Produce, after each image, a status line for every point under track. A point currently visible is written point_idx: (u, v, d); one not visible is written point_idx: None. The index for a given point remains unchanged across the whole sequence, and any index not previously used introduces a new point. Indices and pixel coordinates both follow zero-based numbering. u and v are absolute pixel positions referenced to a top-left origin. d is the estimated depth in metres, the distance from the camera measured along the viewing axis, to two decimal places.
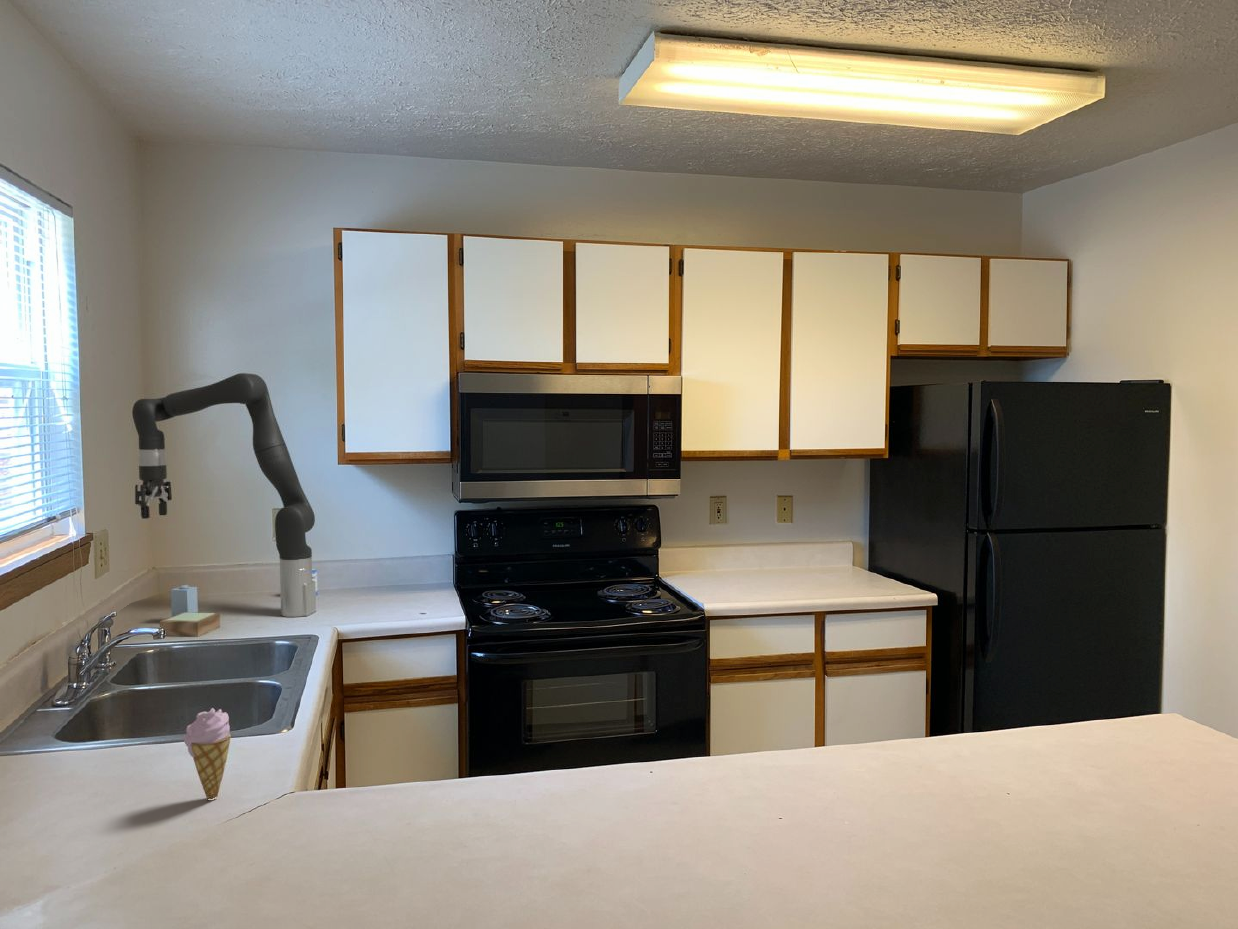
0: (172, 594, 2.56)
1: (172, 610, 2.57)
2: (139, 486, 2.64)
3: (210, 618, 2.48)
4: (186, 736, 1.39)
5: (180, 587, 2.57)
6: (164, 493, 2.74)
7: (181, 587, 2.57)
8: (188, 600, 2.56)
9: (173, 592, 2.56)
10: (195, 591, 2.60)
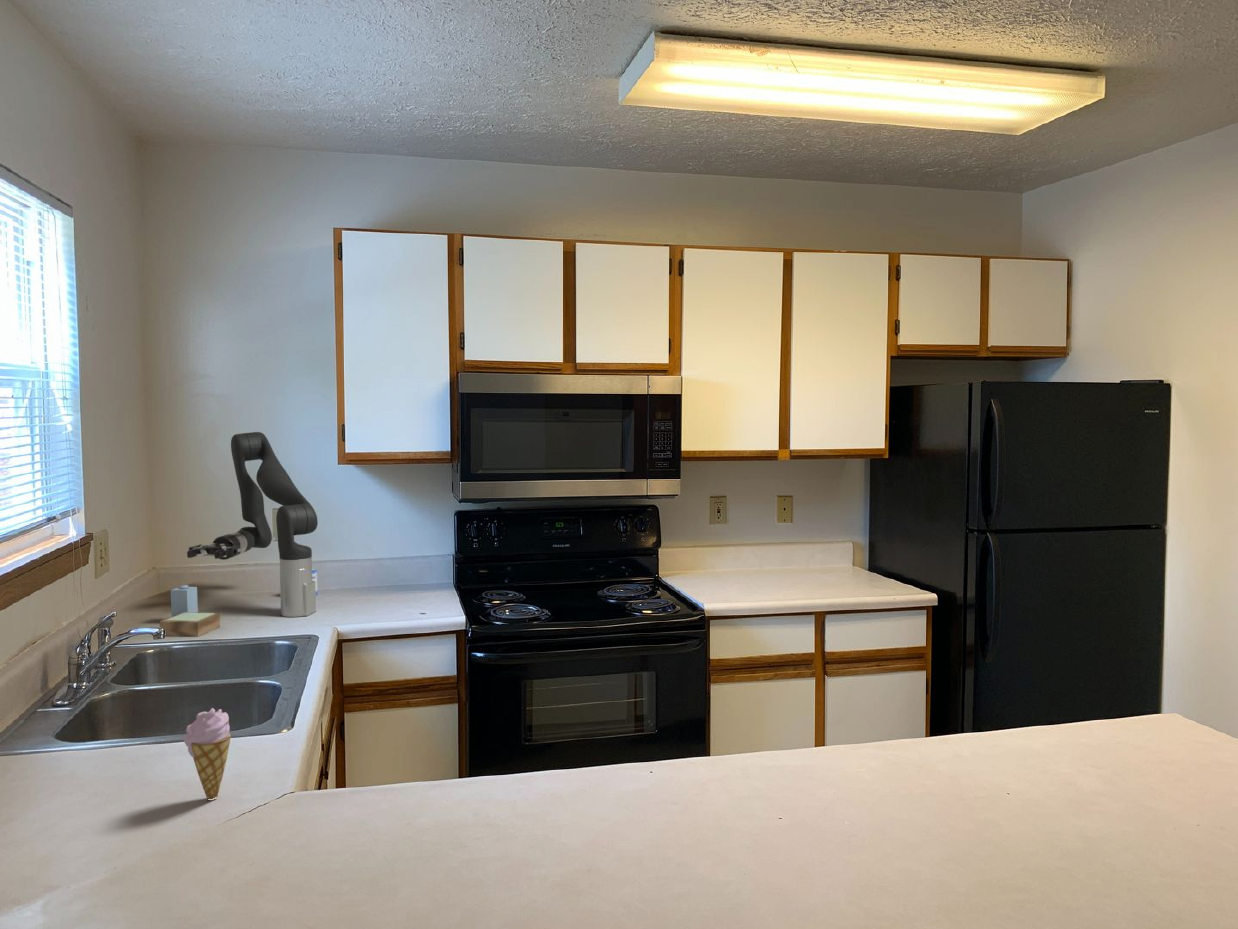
0: (172, 594, 2.56)
1: (172, 610, 2.57)
2: None
3: (210, 618, 2.48)
4: (186, 736, 1.39)
5: (180, 587, 2.57)
6: (222, 545, 2.74)
7: (181, 587, 2.57)
8: (188, 600, 2.56)
9: (173, 592, 2.56)
10: (195, 591, 2.60)
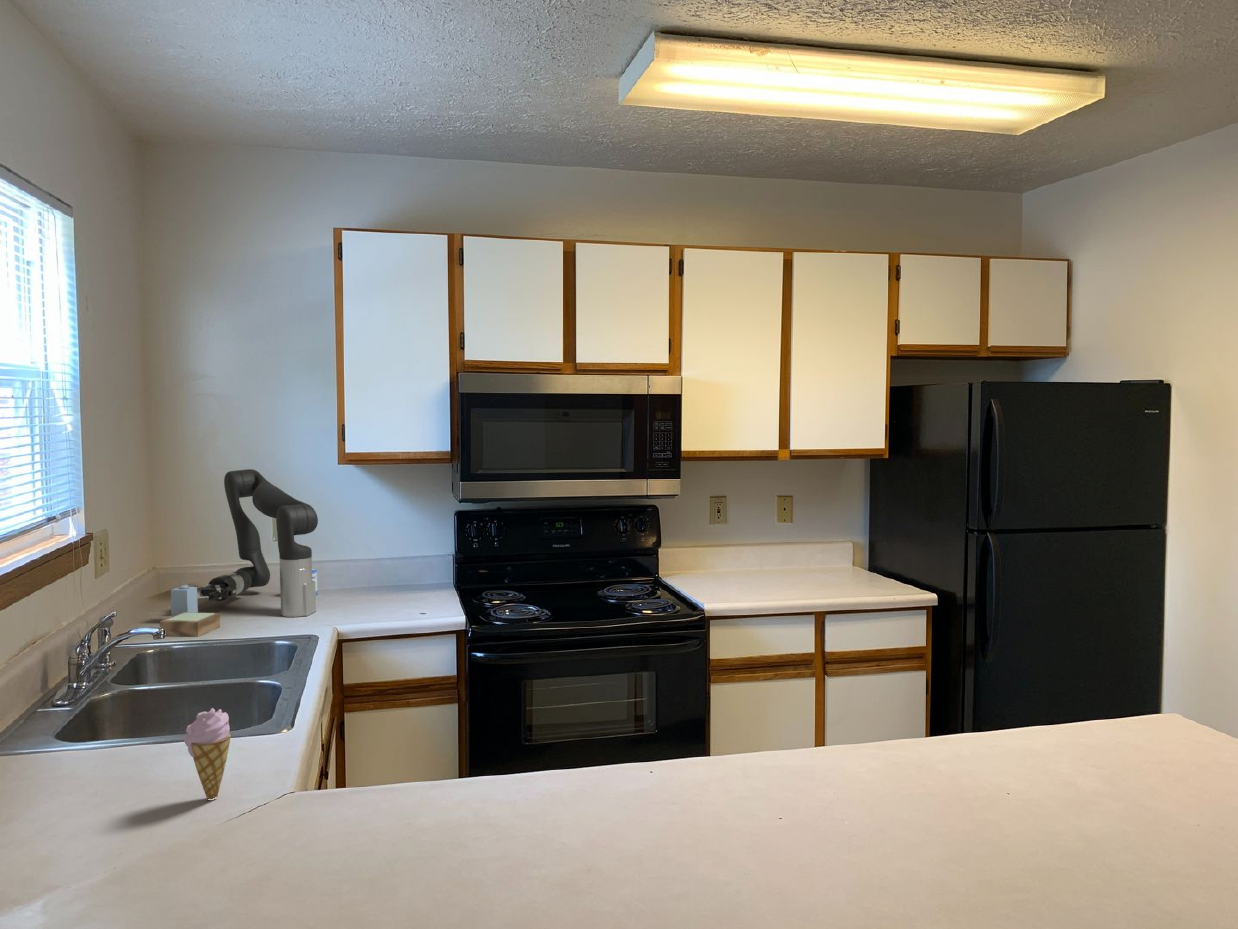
0: (172, 594, 2.56)
1: (172, 610, 2.57)
2: None
3: (210, 618, 2.48)
4: (186, 736, 1.39)
5: (180, 587, 2.57)
6: (217, 587, 2.71)
7: (181, 587, 2.57)
8: (188, 600, 2.56)
9: (173, 592, 2.56)
10: (195, 591, 2.60)
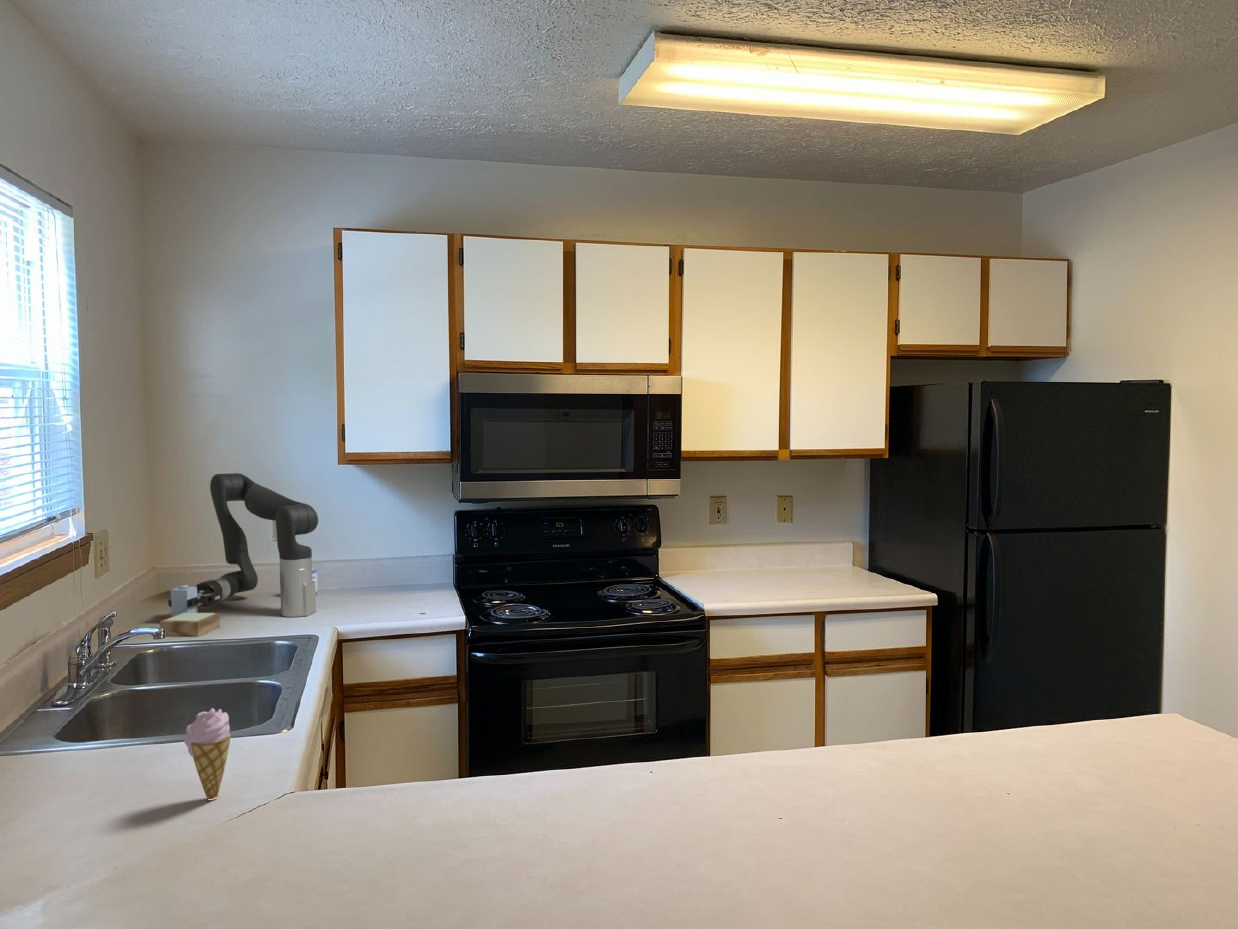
0: (172, 594, 2.56)
1: (172, 610, 2.56)
2: None
3: (210, 618, 2.48)
4: (186, 736, 1.39)
5: (180, 587, 2.57)
6: (200, 592, 2.63)
7: (181, 587, 2.57)
8: None
9: (173, 592, 2.56)
10: (195, 591, 2.60)
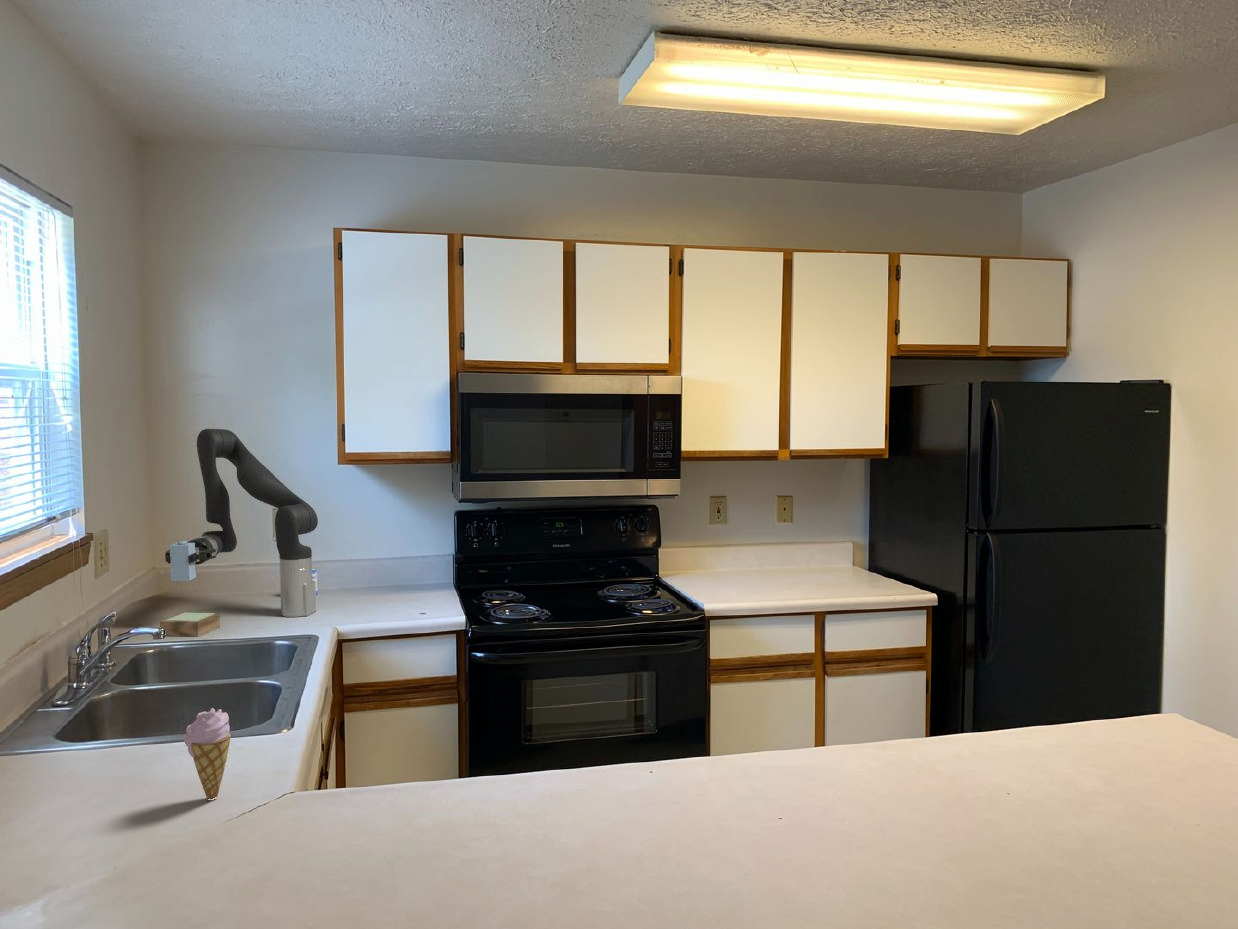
0: (171, 550, 2.49)
1: (171, 566, 2.49)
2: None
3: (210, 618, 2.48)
4: (186, 736, 1.39)
5: (179, 543, 2.50)
6: (196, 549, 2.57)
7: (180, 543, 2.50)
8: None
9: (172, 548, 2.49)
10: (193, 547, 2.54)
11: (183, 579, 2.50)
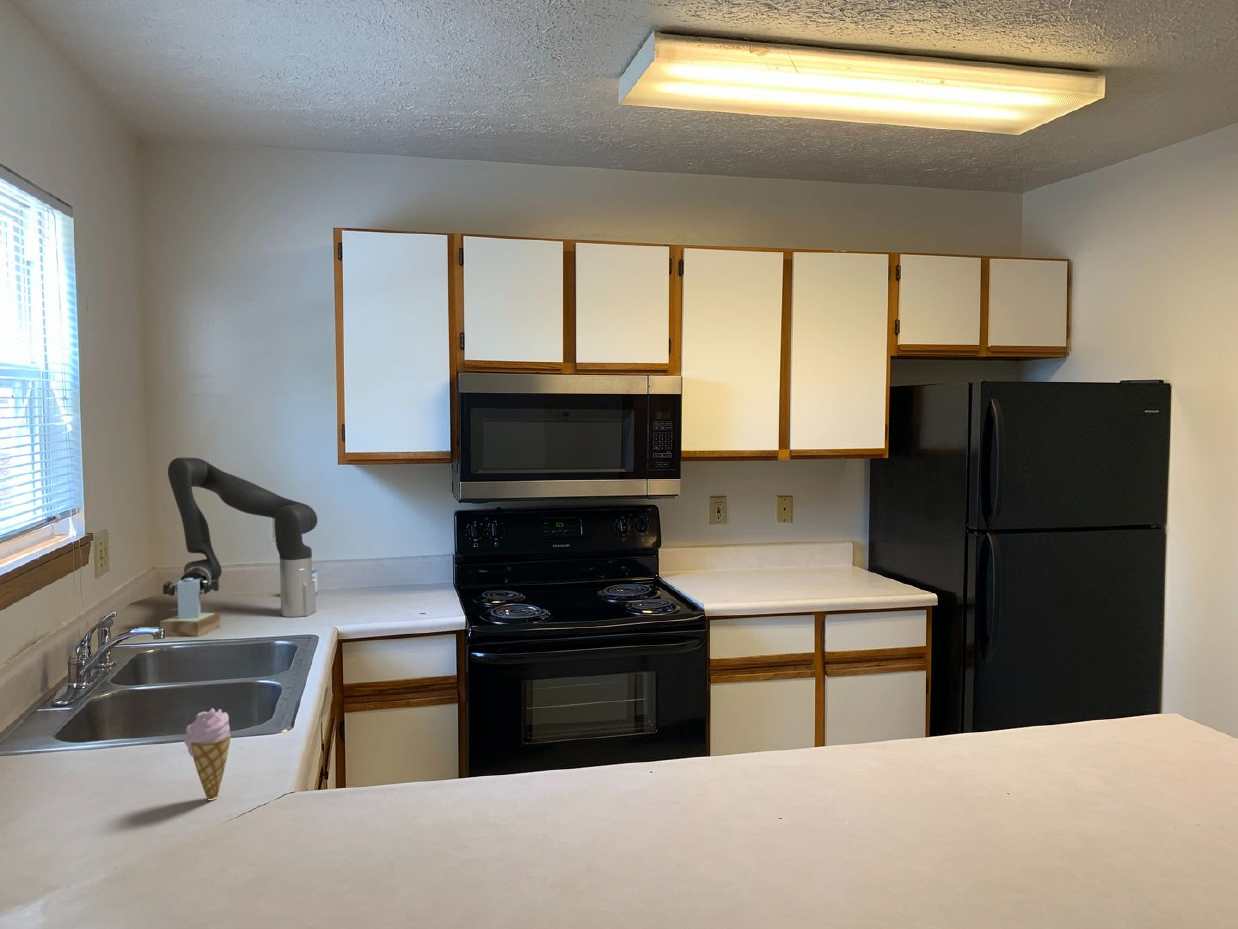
0: (179, 588, 2.44)
1: (179, 605, 2.45)
2: None
3: (210, 618, 2.48)
4: (186, 736, 1.39)
5: (186, 580, 2.46)
6: (202, 580, 2.53)
7: (187, 580, 2.46)
8: (197, 592, 2.46)
9: (180, 585, 2.44)
10: (199, 583, 2.50)
11: (191, 617, 2.46)
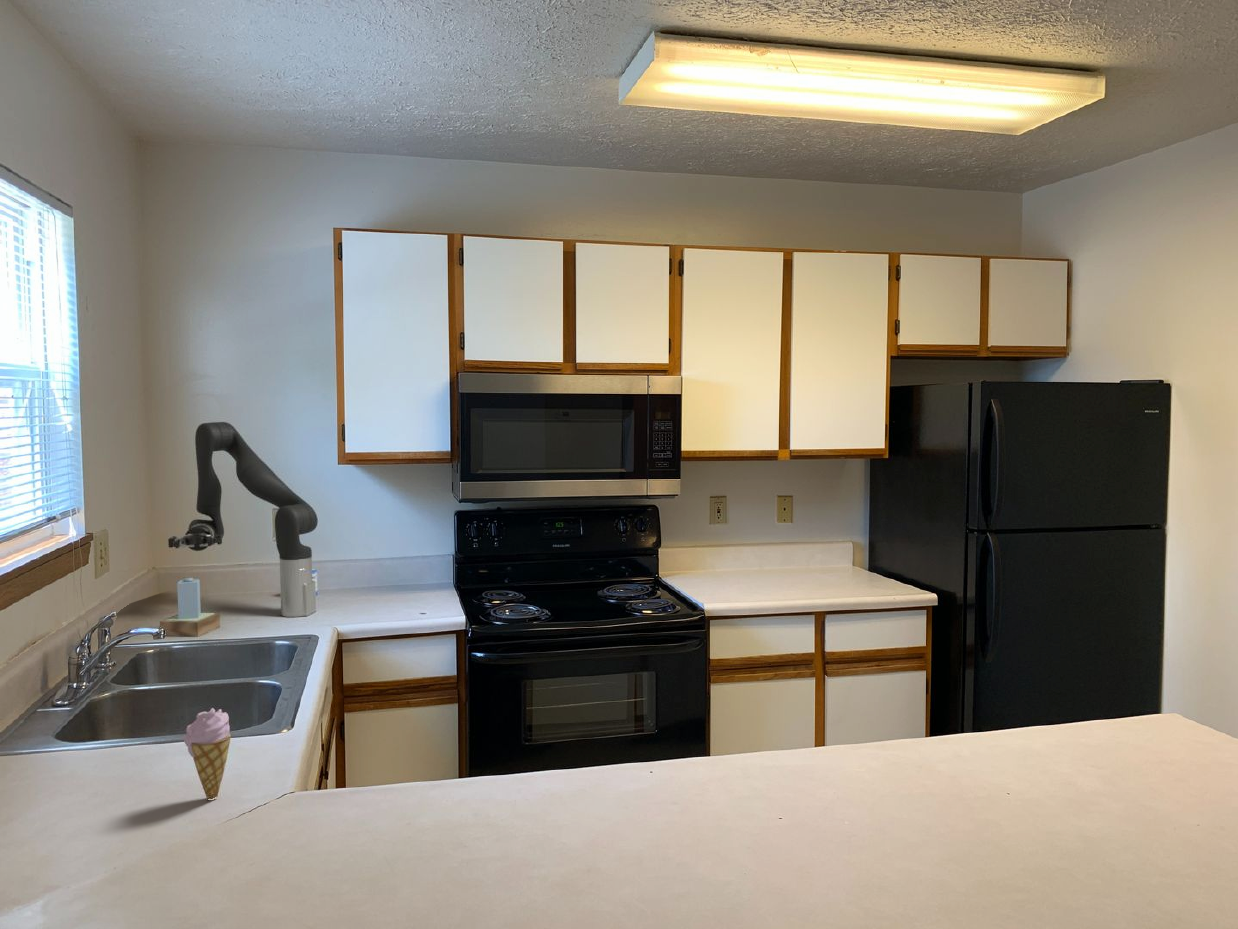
0: (179, 588, 2.44)
1: (179, 605, 2.45)
2: None
3: (210, 618, 2.48)
4: (186, 736, 1.39)
5: (186, 580, 2.46)
6: (205, 534, 2.64)
7: (187, 580, 2.46)
8: (197, 592, 2.46)
9: (180, 585, 2.44)
10: (199, 583, 2.50)
11: (191, 617, 2.46)
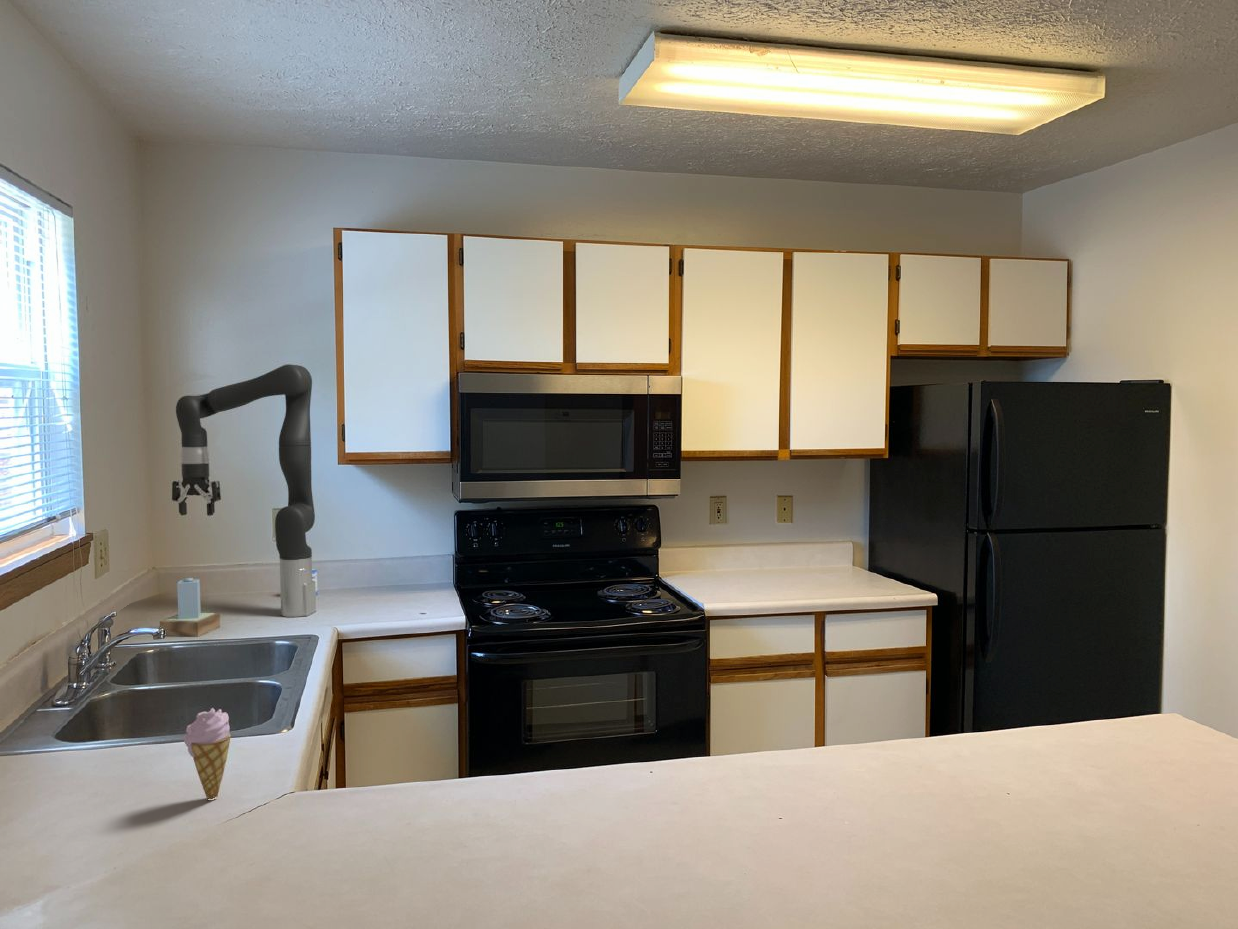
0: (179, 588, 2.44)
1: (179, 605, 2.45)
2: None
3: (210, 618, 2.48)
4: (186, 736, 1.39)
5: (186, 580, 2.46)
6: (201, 493, 2.66)
7: (187, 580, 2.46)
8: (197, 592, 2.46)
9: (180, 585, 2.44)
10: (199, 583, 2.50)
11: (191, 617, 2.46)
